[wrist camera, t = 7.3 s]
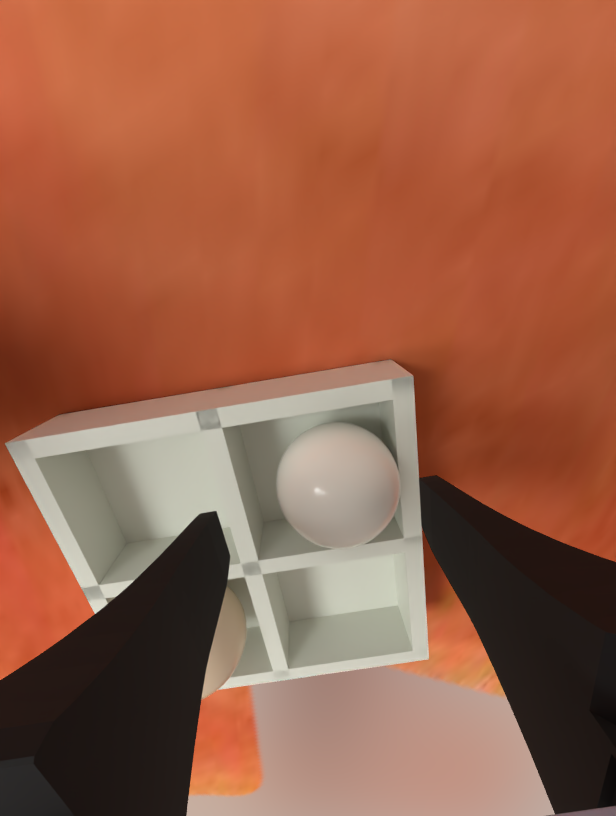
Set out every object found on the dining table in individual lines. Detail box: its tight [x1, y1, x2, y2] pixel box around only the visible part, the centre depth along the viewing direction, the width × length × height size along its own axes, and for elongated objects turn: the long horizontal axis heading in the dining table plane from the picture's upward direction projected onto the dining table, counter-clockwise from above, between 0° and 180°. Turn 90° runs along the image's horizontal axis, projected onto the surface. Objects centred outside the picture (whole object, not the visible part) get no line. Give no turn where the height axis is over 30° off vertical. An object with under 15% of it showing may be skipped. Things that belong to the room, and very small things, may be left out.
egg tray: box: [5, 359, 429, 690], centre depth 16 cm, size 15×15×3 cm
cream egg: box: [276, 422, 400, 549], centre depth 13 cm, size 5×5×5 cm
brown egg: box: [201, 586, 247, 700], centre depth 16 cm, size 5×5×5 cm
